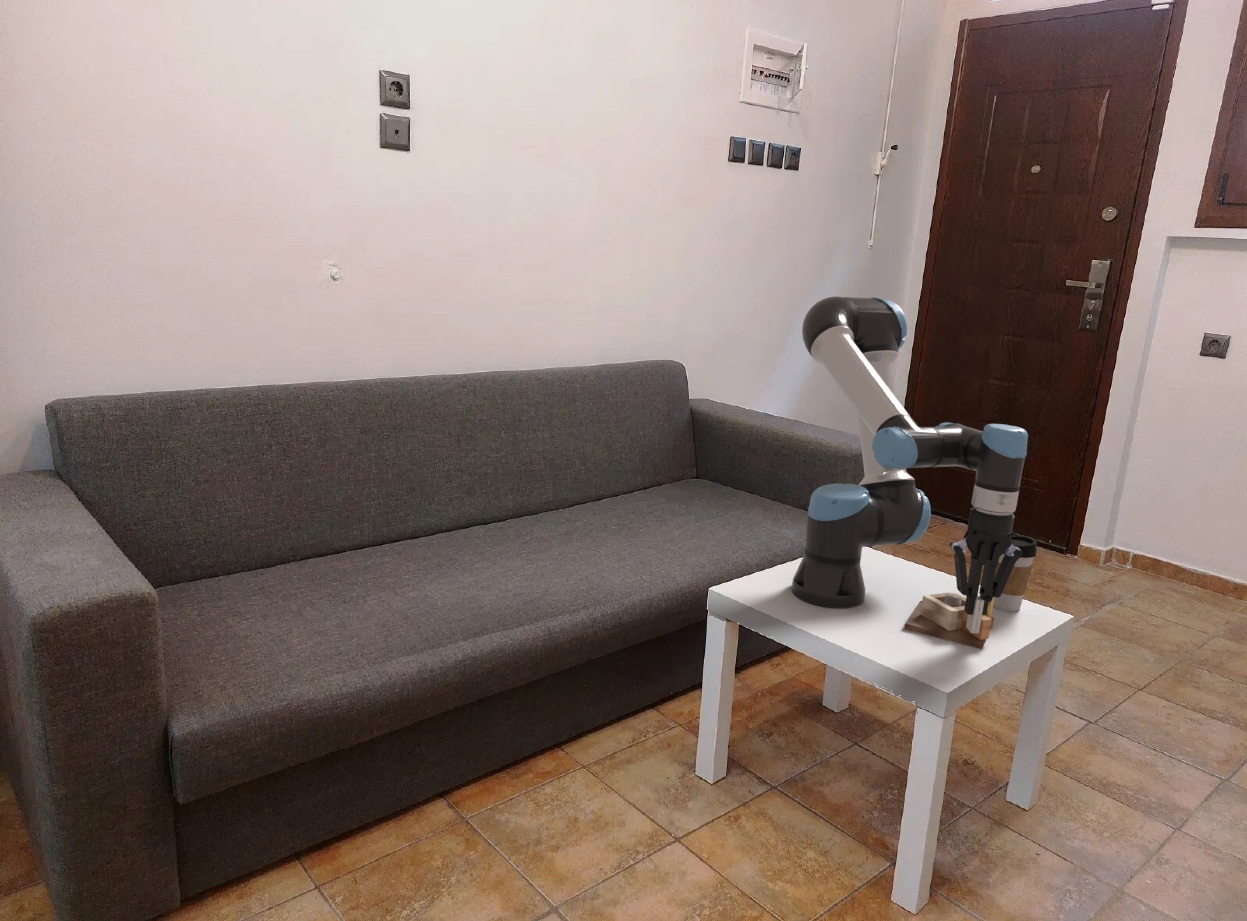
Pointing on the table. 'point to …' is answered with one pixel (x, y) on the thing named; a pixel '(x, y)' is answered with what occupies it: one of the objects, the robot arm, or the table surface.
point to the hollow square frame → (951, 615)
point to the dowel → (990, 608)
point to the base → (932, 629)
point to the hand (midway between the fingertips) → (972, 630)
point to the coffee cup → (1017, 575)
